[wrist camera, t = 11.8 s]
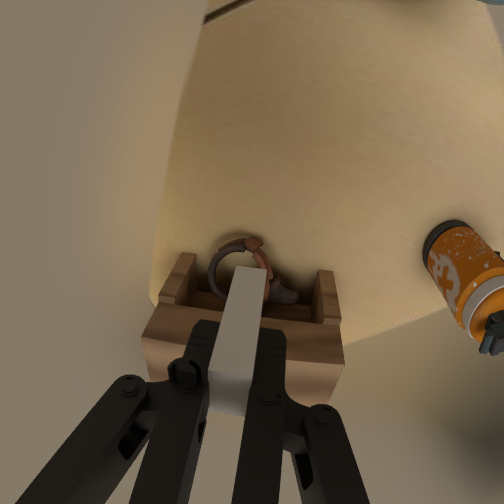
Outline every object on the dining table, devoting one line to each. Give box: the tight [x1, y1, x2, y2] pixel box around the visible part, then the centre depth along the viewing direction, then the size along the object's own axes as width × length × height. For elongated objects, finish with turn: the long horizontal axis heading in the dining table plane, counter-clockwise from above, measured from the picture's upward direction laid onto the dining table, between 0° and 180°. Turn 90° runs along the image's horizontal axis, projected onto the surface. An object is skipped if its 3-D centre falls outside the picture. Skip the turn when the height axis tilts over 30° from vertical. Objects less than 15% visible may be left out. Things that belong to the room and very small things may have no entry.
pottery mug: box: [208, 238, 299, 305], centre depth 42 cm, size 12×9×8 cm
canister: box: [423, 221, 504, 356], centre depth 31 cm, size 9×11×20 cm
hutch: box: [141, 252, 345, 407], centre depth 40 cm, size 10×21×16 cm, turn 85°
